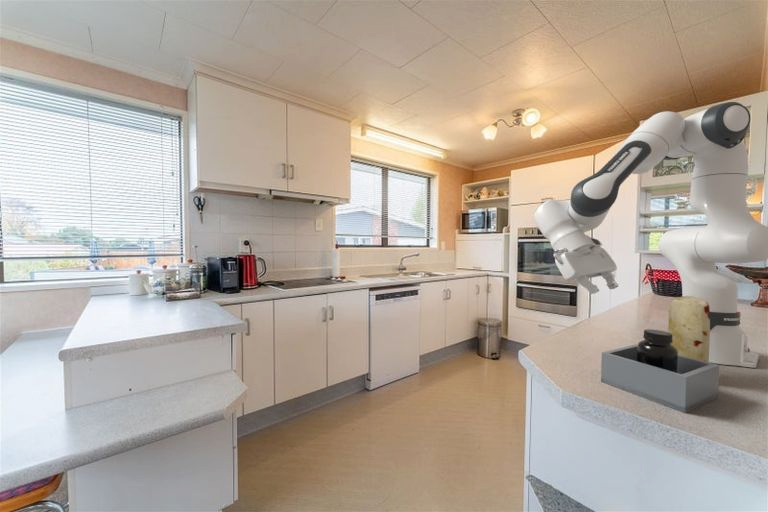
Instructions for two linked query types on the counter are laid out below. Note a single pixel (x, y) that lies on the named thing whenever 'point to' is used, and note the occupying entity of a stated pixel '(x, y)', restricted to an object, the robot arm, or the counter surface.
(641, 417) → the counter surface
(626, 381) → the bin
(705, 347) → the food model
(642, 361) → the supplement bottle
